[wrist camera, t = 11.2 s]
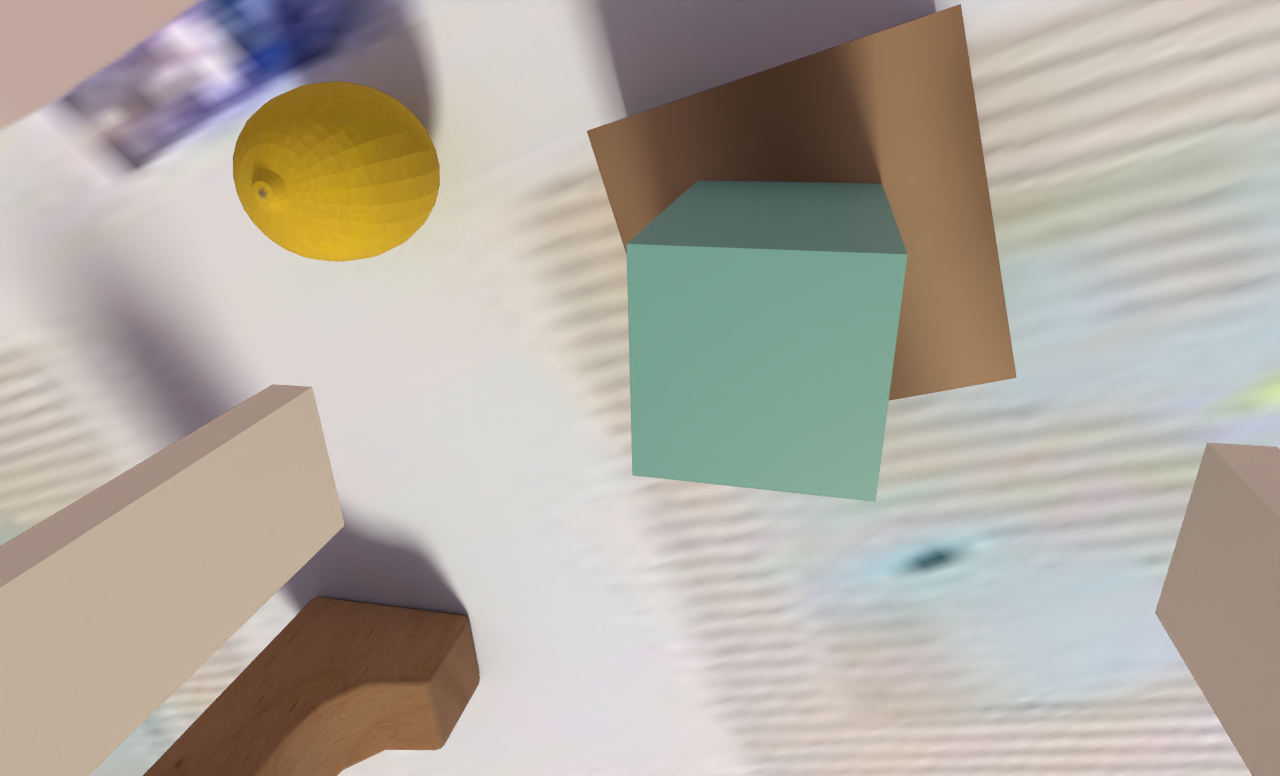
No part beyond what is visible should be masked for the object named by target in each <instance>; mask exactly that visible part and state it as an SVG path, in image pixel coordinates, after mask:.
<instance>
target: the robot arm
mask: <svg viewBox="0 0 1280 776" xmlns="http://www.w3.org/2000/svg"><path fill="white" fill-rule="evenodd" d="M344 526H345V524H344V520H343V516H342V511H341V507H340V503H339V499H338V494H337V490H336V486H335V482H334V478H333V473H332V469H331V465H330V461H329V456H328V452H327V448H326V444H325V440H324V435H323V431H322V427H321V423H320V418H319V414H318V410H317V406H316V401H315V397H314V393H313V389H312V387H304V386H288V385H271V386H269V387H268V388H266V389H264V390H263V391H261V392H259V393H257V394H256V395H254V396H252V397H251V398H249V399H247V400H246V401H244V402H242V403H241V404H239V405H237V406H236V407H234V408H232V409H231V410H229V411H227V412H225V413H224V414H222V415H220V416H219V417H217V418H215V419H214V420H212V421H210V422H209V423H207V424H205V425H204V426H202V427H200V428H198V429H197V430H195V431H193V432H192V433H190V434H188V435H187V436H185V437H183V438H182V439H180V440H178V441H177V442H175V443H173V444H172V445H170V446H168V447H166V448H165V449H163V450H161V451H160V452H158V453H156V454H155V455H153V456H151V457H150V458H148V459H146V460H145V461H143V462H141V463H140V464H138V465H136V466H134V467H133V468H131V469H129V470H128V471H126V472H124V473H123V474H121V475H119V476H118V477H116V478H114V479H113V480H111V481H109V482H107V483H106V484H104V485H102V486H101V487H99V488H97V489H96V490H94V491H92V492H91V493H89V494H87V495H86V496H84V497H82V498H81V499H79V500H77V501H75V502H74V503H72V504H70V505H69V506H67V507H65V508H64V509H62V510H60V511H59V512H57V513H55V514H54V515H52V516H50V517H49V518H47V519H45V520H43V521H42V522H40V523H38V524H37V525H35V526H33V527H32V528H30V529H28V530H27V531H25V532H23V533H22V534H20V535H18V536H17V537H15V538H13V539H11V540H10V541H8V542H6V543H5V544H3V545H1V546H0V776H89V775H90V774H91V773H92V772H93V771H94V770H95V769H96V768H97V767H98V766H99V765H100V764H101V763H102V762H103V761H104V760H105V759H106V758H107V757H108V756H109V755H110V754H111V753H112V752H113V751H114V750H115V749H116V748H117V747H118V746H119V745H120V744H121V743H123V742H124V741H125V740H126V739H127V738H128V737H129V736H130V735H131V734H132V733H133V732H134V731H135V730H136V729H137V728H138V727H139V726H140V725H141V724H142V723H143V722H144V721H145V720H146V719H147V718H148V717H149V716H150V715H151V714H152V713H153V712H154V711H155V710H156V709H157V708H158V707H159V706H160V705H161V704H162V703H163V702H164V701H166V700H167V699H168V698H169V697H170V696H171V695H172V694H173V693H174V692H175V691H176V690H177V689H178V688H179V687H180V686H181V685H182V684H183V683H184V682H185V681H186V680H187V679H188V678H189V677H190V676H191V675H192V674H193V673H194V672H195V671H196V670H197V669H198V668H199V667H200V666H201V665H202V664H203V663H204V662H205V661H206V660H207V659H209V658H210V657H211V656H212V655H213V654H214V653H215V652H216V651H217V650H218V649H219V648H220V647H221V646H222V645H223V644H224V643H225V642H226V641H227V640H228V639H229V638H230V637H231V636H232V635H233V634H234V633H235V632H236V631H237V630H238V629H239V628H240V627H241V626H242V625H243V624H244V623H245V622H246V621H247V620H248V619H249V618H250V617H252V616H253V615H254V614H255V613H256V612H257V611H258V610H259V609H260V608H261V607H262V606H263V605H264V604H265V603H266V602H267V601H268V600H269V599H270V598H271V597H272V596H273V595H274V594H275V593H276V592H277V591H278V590H279V589H280V588H281V587H282V586H283V585H284V584H285V583H286V582H287V581H288V580H289V579H290V578H291V577H292V576H293V575H295V574H296V573H297V572H298V571H299V570H300V569H301V568H302V567H303V566H304V565H305V564H306V563H307V562H308V561H309V560H310V559H311V558H312V557H313V556H314V555H315V554H316V553H317V552H318V551H319V550H320V549H321V548H322V547H323V546H324V545H325V544H326V543H327V542H328V541H329V540H330V539H331V538H332V537H333V536H334V535H335V534H336V533H338V532H339V531H340V530H341V529H342V528H343V527H344ZM1155 613H1156V615H1157V617H1158V618H1159V620H1160V622H1161V623H1162V625H1163V627H1164V628H1165V630H1166V632H1167V633H1168V635H1169V637H1170V638H1171V640H1172V642H1173V643H1174V645H1175V647H1176V648H1177V650H1178V652H1179V653H1180V655H1181V657H1182V658H1183V660H1184V662H1185V663H1186V665H1187V667H1188V669H1189V670H1190V672H1191V674H1192V675H1193V677H1194V679H1195V680H1196V682H1197V684H1198V685H1199V687H1200V689H1201V690H1202V692H1203V694H1204V695H1205V697H1206V699H1207V700H1208V702H1209V704H1210V705H1211V707H1212V709H1213V710H1214V712H1215V714H1216V716H1217V717H1218V719H1219V721H1220V722H1221V724H1222V726H1223V727H1224V729H1225V731H1226V732H1227V734H1228V736H1229V737H1230V739H1231V741H1232V742H1233V744H1234V746H1235V747H1236V749H1237V751H1238V752H1239V754H1240V756H1241V757H1242V759H1243V761H1244V762H1245V764H1246V766H1247V768H1248V769H1249V771H1250V773H1251V774H1252V776H1280V450H1279V449H1278V448H1277V447H1267V446H1251V445H1235V444H1219V443H1207V445H1206V448H1205V451H1204V454H1203V458H1202V461H1201V464H1200V468H1199V471H1198V474H1197V477H1196V481H1195V484H1194V487H1193V491H1192V494H1191V497H1190V500H1189V504H1188V507H1187V510H1186V513H1185V517H1184V520H1183V523H1182V527H1181V530H1180V533H1179V536H1178V540H1177V543H1176V546H1175V550H1174V553H1173V556H1172V559H1171V563H1170V566H1169V569H1168V573H1167V576H1166V579H1165V582H1164V586H1163V589H1162V592H1161V596H1160V599H1159V602H1158V605H1157V609H1156V612H1155Z"/></svg>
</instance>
